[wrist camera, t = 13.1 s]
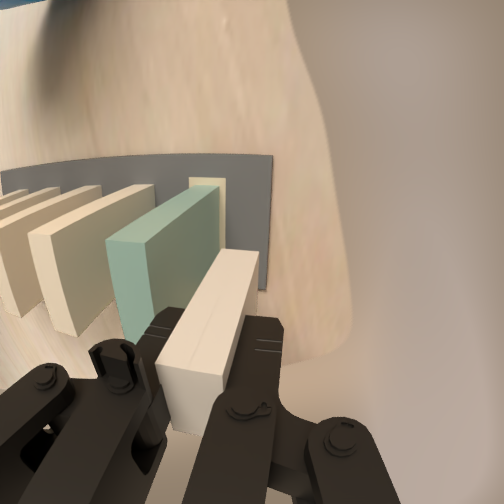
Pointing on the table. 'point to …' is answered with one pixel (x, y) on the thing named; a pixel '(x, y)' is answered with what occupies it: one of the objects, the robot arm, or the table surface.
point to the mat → (174, 188)
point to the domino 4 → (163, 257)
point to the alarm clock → (15, 3)
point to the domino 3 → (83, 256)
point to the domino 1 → (13, 196)
